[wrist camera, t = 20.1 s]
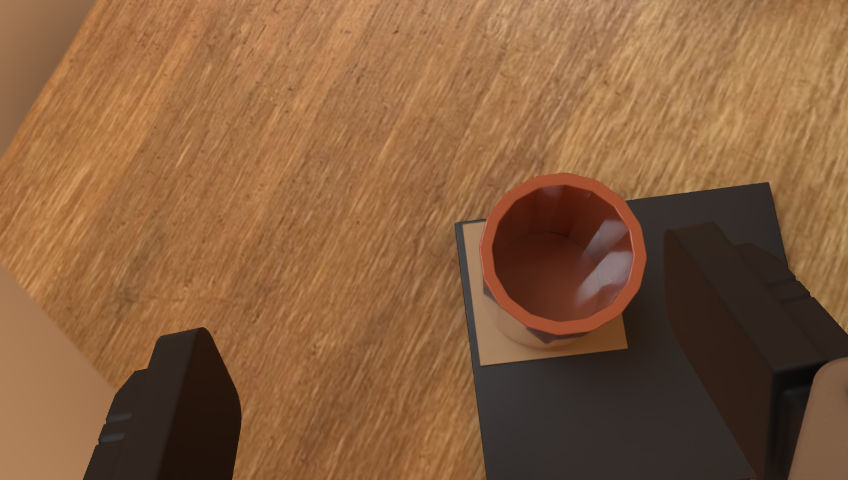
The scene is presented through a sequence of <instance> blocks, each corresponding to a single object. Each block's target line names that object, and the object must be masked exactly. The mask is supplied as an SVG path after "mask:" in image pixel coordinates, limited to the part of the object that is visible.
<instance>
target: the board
mask: <svg viewBox="0 0 848 480" xmlns="http://www.w3.org/2000/svg"><path fill="white" fill-rule="evenodd" d="M625 202H626V203H627V205H628V206H629V208H630V209H631V211H632V213H633V214H634V216H635V217H636V219H637V220H638V222H639V223H640V225H641V227H642V233H643V238H644V243H645V249H646V254H647V257H646V258H647V261H646V265H645V269H644V274H643V278H642V282H641V286H640V289H639V291H638V292H637V294H636V295H635V296H634V298H633V299H632V300H631V302H630V303H629V304H628V306H627V307H626V308H625V310H624V311H623V312H622V314H620V315H619V316H618V317H616V318H615V319H613V320H611V321H610V322H608V323H606V324H605V325H603V326H601V327H600V328H598V329H596V330H595V331H593V332H591V333H590V334H588V335H586V336H585V337H583V338H581V339H579V340H578V341H576V342H574V343H572V344H571V345H569V346H566V347H560V348H555V349H536V348H531V347H527V346H524V345H522V344H519V343H517V342H515V341H513V340H512V339H510V338H509V337H507V336H506V335H505V334H504V333H502V332H501V331H500V330H499V329H498V328H497V326H495V324H494V323H493V321H492V320H491V318H490V317H489V315H488V313H487V311H486V308H485V307H484V304H483V298H482V290H481V282H480V261H479V244H480V240H481V237H482V233H483V230H484V226H485V222H486V219H481V220H473V221H465V222H458V223H455V232H456V240H457V247H458V255H459V263H460V271H461V279H462V287H463V295H464V303H465V311H466V319H467V327H468V334H469V342H470V350H471V358H472V366H473V374H474V382H475V390H476V398H477V406H478V414H479V422H480V429H481V437H482V445H483V453H484V461H485V469H486V477H487V480H743V479H752V478H758V477H757V476H756V474H755V472H754V471H753V469H752V467H751V465H750V464H749V462H748V460H747V459H746V457H745V455H744V454H743V452H742V450H741V448H740V447H739V445H738V443H737V442H736V440H735V438H734V437H733V435H732V433H731V431H730V430H729V428H728V426H727V425H726V423H725V421H724V420H723V418H722V416H721V414H720V413H719V411H718V409H717V408H716V406H715V404H714V402H713V401H712V399H711V397H710V396H709V394H708V392H707V391H706V389H705V387H704V385H703V384H702V382H701V380H700V379H699V377H698V375H697V374H696V372H695V370H694V368H693V367H692V365H691V363H690V362H689V360H688V358H687V357H686V355H685V353H684V351H683V350H682V348H681V346H680V345H679V343H678V341H677V339H676V338H675V336H674V334H673V332H672V329H671V327H670V324H669V321H668V317H667V313H666V308H665V293H664V246H663V239H664V233H665V231H666V230H667V229H672V228H677V227H682V226H686V225H691V224H696V223H700V222H705V221H713V222H714V223H715V224H716V225H717V226H718V227H719V228H720V230H721V231H722V232H723V233H724V234H725V236H726V237H727V238H728V239H729V240H730V242H731V243H732V244H733V245H734V246H735V245H740V244H745V243H749V242H750V243H752V244H754V245H756V246H758V247H760V248H761V249H763V250H765V251H767V252H769V253H771V254H773V255H775V256H777V257H778V258H779V259H780V260H781V261H782V262H783V263H784V265H785V266H786V267H787V268H788V265H787V261H786V256H785V252H784V247H783V243H782V239H781V234H780V230H779V225H778V221H777V216H776V212H775V208H774V203H773V199H772V194H771V190H770V185H769V182H765V183H758V184H750V185H742V186H735V187H727V188H719V189H712V190H704V191H696V192H689V193H681V194H673V195H665V196H658V197H650V198H642V199H635V200H627V201H625Z"/></svg>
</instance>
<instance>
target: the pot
mask: <svg viewBox="0 0 848 480" xmlns="http://www.w3.org/2000/svg"><path fill="white" fill-rule="evenodd" d="M646 257H647V254H646V249H645V243H644V238H643V233H642V227H641V225H640V223H639V222H638V220H637V219H636V217H635V216H634V214H633V213H632V211H631V209H630V208H629V206H628V205H627V203H626V202H625V200H623V198H622V197H620V196H619V195H617V194H616V193H615V192H613V191H612V190H610V189H609V188H607V187H606V186H605V185H603V184H602V183H600V182H599V181H596V180H594V179H590V178H586V177H582V176H578V175H574V174H570V173H558V174H551V175H543V176H536V177H533V178H531V179H529V180H527V181H525V182H524V183H522V184H520V185H518V186H517V187H515V188H513V189H511V190H509V191H508V192H507V193H505V195H504V196H503V197H502V198H501V200H500V201H499V202H498V203H497V205H496V206H495V207H494V209H493V210H492V211H491V212H490V214H489V215H488V217H487V219H486V222H485V226H484V230H483V233H482V237H481V240H480V244H479V261H480V282H481V290H482V298H483V304H484V307H485V308H486V311H487V313H488V315H489V317H490V318H491V320H492V321H493V323H494V324H495V326H497V328H498V329H499V330H500V331H501V332H502V333H504V334H505V335H506V336H507V337H509V338H510V339H512V340H513V341H515V342H517V343H519V344H522V345H524V346H527V347H531V348H536V349H555V348H560V347H566V346H569V345H571V344H572V343H574V342H576V341H578V340H579V339H581V338H583V337H585V336H586V335H588V334H590V333H591V332H593V331H595V330H596V329H598V328H600V327H601V326H603V325H605V324H606V323H608V322H610V321H611V320H613V319H615V318H616V317H618V316H619V315H620V314H622V312H623V311H624V310H625V308H626V307H627V306H628V304H629V303H630V302H631V300H632V299H633V298H634V296H635V295H636V294H637V292H638V291H639V289H640V286H641V282H642V278H643V274H644V269H645V265H646V261H647V258H646Z"/></svg>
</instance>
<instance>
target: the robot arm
mask: <svg viewBox="0 0 848 480" xmlns="http://www.w3.org/2000/svg"><path fill="white" fill-rule="evenodd" d="M663 246H664V293H665V308H666V313H667V317H668V321H669V324H670V327H671V329H672V332H673V334H674V336H675V338H676V339H677V341H678V343H679V345H680V346H681V348H682V350H683V351H684V353H685V355H686V357H687V358H688V360H689V362H690V363H691V365H692V367H693V368H694V370H695V372H696V374H697V375H698V377H699V379H700V380H701V382H702V384H703V385H704V387H705V389H706V391H707V392H708V394H709V396H710V397H711V399H712V401H713V402H714V404H715V406H716V408H717V409H718V411H719V413H720V414H721V416H722V418H723V420H724V421H725V423H726V425H727V426H728V428H729V430H730V431H731V433H732V435H733V437H734V438H735V440H736V442H737V443H738V445H739V447H740V448H741V450H742V452H743V454H744V455H745V457H746V459H747V460H748V462H749V464H750V465H751V467H752V469H753V471H754V472H755V474H756V476H757V477H758V479H759V480H848V334H847V333H846V332H845V331H844V330H843V329H842V328H841V327H840V326H839V324H838V323H837V322H836V321H835V320H834V319H833V318H832V317H831V316H830V315H829V313H828V312H827V311H826V310H825V309H824V308H823V307H822V306H821V305H820V303H819V302H818V301H817V300H816V299H815V298H814V297H812V298H811V296H810V292H809V291H808V290H807V289H806V288H805V287H804V286H803V285H802V283H801V282H800V281H796V278H795V276H794V275H793V273H792V272H791V271H790V270H789V269H788V268H787V267H786V266H785V265H784V263H783V262H782V261H781V260H780V259H779V258H778V257H777V256H775V255H773V254H771V253H769V252H767V251H765V250H763V249H761V248H760V247H758V246H756V245H754V244H752V243H750V242H749V243H745V244H740V245H735V246H734V245H733V244H732V243H731V242H730V240H729V239H728V238H727V237H726V236H725V234H724V233H723V232H722V231H721V230H720V228H719V227H718V226H717V225H716V224H715V223H714V222H713V221H705V222H700V223H696V224H691V225H686V226H682V227H677V228H672V229H667V230H666V231H665V233H664V239H663ZM241 419H242V418H241V406H240V400H239V396H238V393H237V390H236V388H235V386H234V383H233V381H232V379H231V377H230V375H229V373H228V371H227V368H226V366H225V364H224V362H223V360H222V358H221V356H220V353H219V351H218V349H217V347H216V345H215V343H214V341H213V338H212V336H211V334H210V333H209V331H208V330H207V329H206V328H204V327H201V328H196V329H192V330H187V331H182V332H178V333H173V334H168V335H164V336H160V337H159V338H158V340H157V342H156V345H155V348H154V350H153V353H152V356H151V359H150V362H149V365H148V368H147V369H143V370H138V371H135V372H134V373H133V374H132V375H131V376H130V378H129V379H128V380H127V381H126V382H125V384H124V385H123V386H122V387H121V389H120V390H119V391H118V392H117V393H116V395H115V397H114V399H113V402H112V404H111V407H110V410H109V412H108V415H107V418H106V424H105V425H104V426H103V428H102V431H101V433H100V436H99V439H98V441H99V445H96V447H95V449H94V452H93V455H92V457H91V460H90V462H89V465H88V468H87V470H86V473H85V475H84V478H83V480H232V477H233V471H234V465H235V459H236V453H237V447H238V441H239V435H240V429H241Z"/></svg>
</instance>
